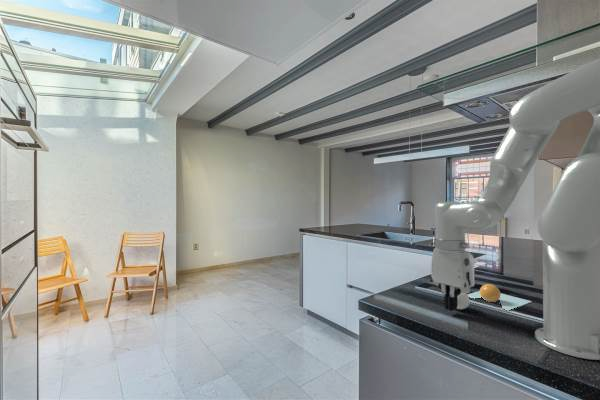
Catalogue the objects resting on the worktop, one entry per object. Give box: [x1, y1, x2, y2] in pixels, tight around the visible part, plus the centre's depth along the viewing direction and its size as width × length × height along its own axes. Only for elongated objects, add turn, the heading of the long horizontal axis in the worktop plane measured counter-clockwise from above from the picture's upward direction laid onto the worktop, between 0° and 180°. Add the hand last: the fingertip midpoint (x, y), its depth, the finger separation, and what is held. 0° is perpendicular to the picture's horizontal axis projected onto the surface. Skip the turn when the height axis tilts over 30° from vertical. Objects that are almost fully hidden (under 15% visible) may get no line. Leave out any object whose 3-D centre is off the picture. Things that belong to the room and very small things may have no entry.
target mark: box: [466, 290, 533, 312], centre depth 92 cm, size 14×14×1 cm
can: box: [468, 252, 475, 289], centre depth 108 cm, size 6×6×12 cm
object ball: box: [479, 283, 501, 302], centre depth 91 cm, size 6×6×6 cm
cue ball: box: [456, 293, 471, 310], centre depth 85 cm, size 6×6×6 cm
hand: (450, 308), depth 82 cm, fingers closed
